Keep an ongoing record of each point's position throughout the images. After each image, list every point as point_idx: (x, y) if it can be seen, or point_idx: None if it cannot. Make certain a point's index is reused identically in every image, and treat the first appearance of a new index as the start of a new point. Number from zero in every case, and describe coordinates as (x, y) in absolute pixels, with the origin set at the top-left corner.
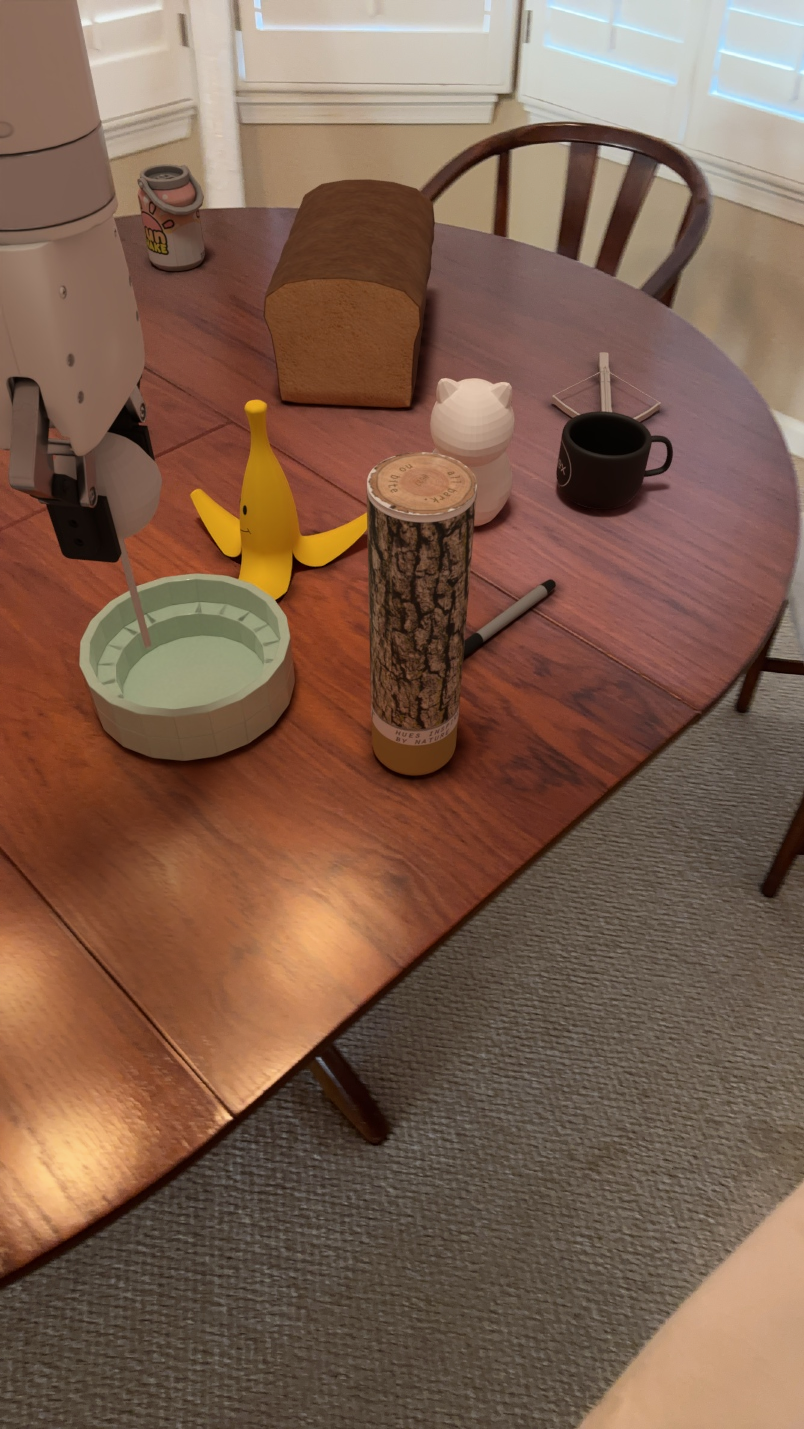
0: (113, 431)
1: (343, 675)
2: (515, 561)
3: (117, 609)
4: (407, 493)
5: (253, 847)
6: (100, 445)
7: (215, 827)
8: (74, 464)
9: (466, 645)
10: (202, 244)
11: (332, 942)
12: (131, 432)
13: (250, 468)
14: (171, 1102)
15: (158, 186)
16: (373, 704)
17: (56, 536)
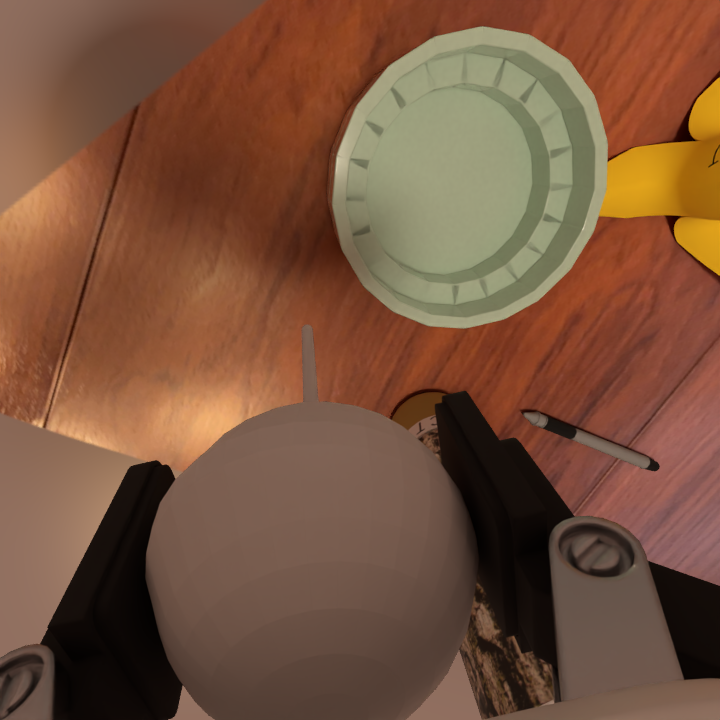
0: (503, 581)
1: (502, 331)
2: (690, 424)
3: (517, 52)
4: None
5: (268, 341)
6: None
7: (275, 297)
8: (207, 685)
9: (557, 431)
10: None
11: (210, 436)
12: (510, 619)
13: None
14: (22, 387)
15: None
16: (421, 441)
17: (111, 503)
